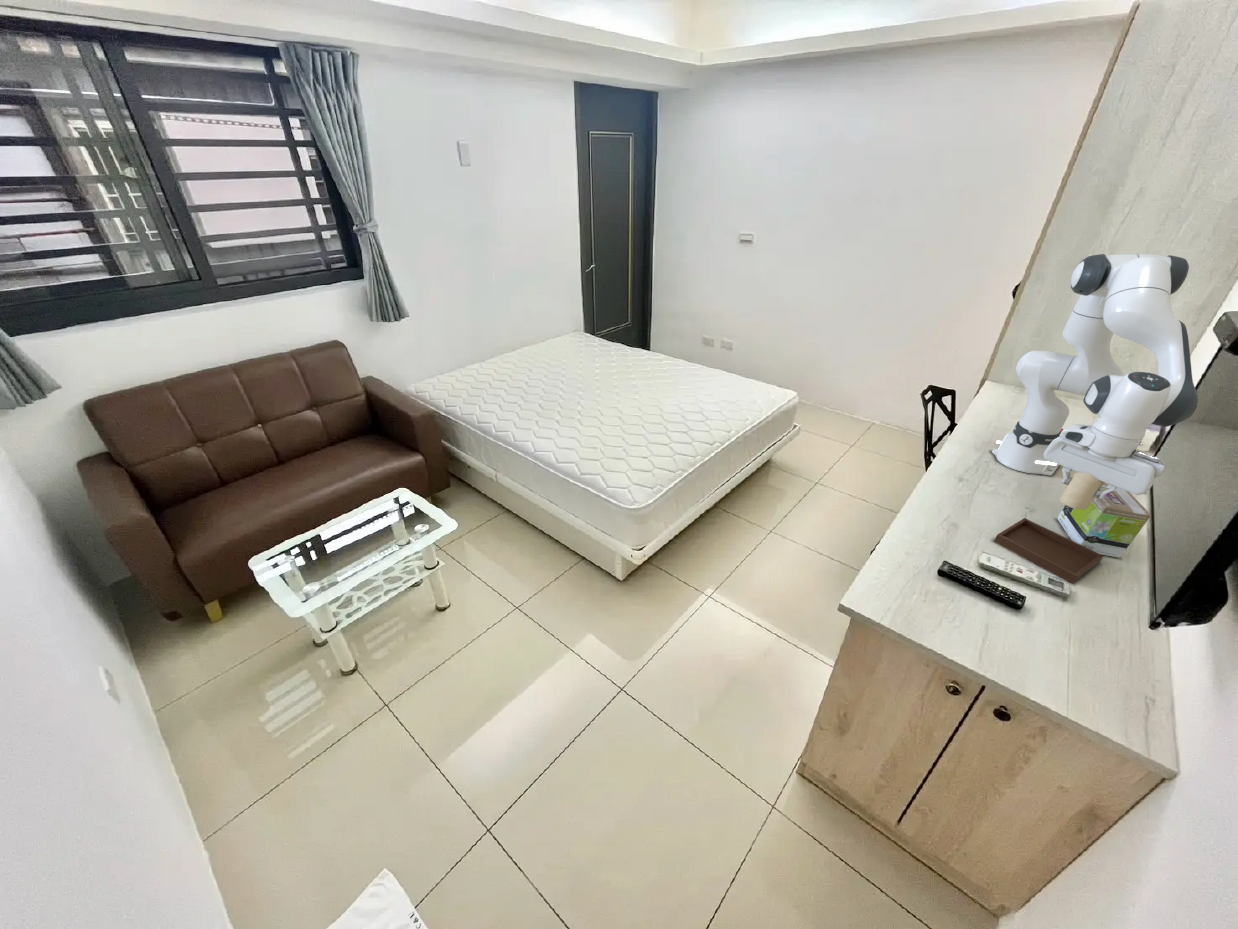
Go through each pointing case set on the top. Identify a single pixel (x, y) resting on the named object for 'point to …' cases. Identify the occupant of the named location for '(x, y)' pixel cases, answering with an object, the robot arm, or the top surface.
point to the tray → (1048, 550)
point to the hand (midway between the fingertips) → (1081, 490)
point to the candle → (1081, 491)
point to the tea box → (1106, 522)
